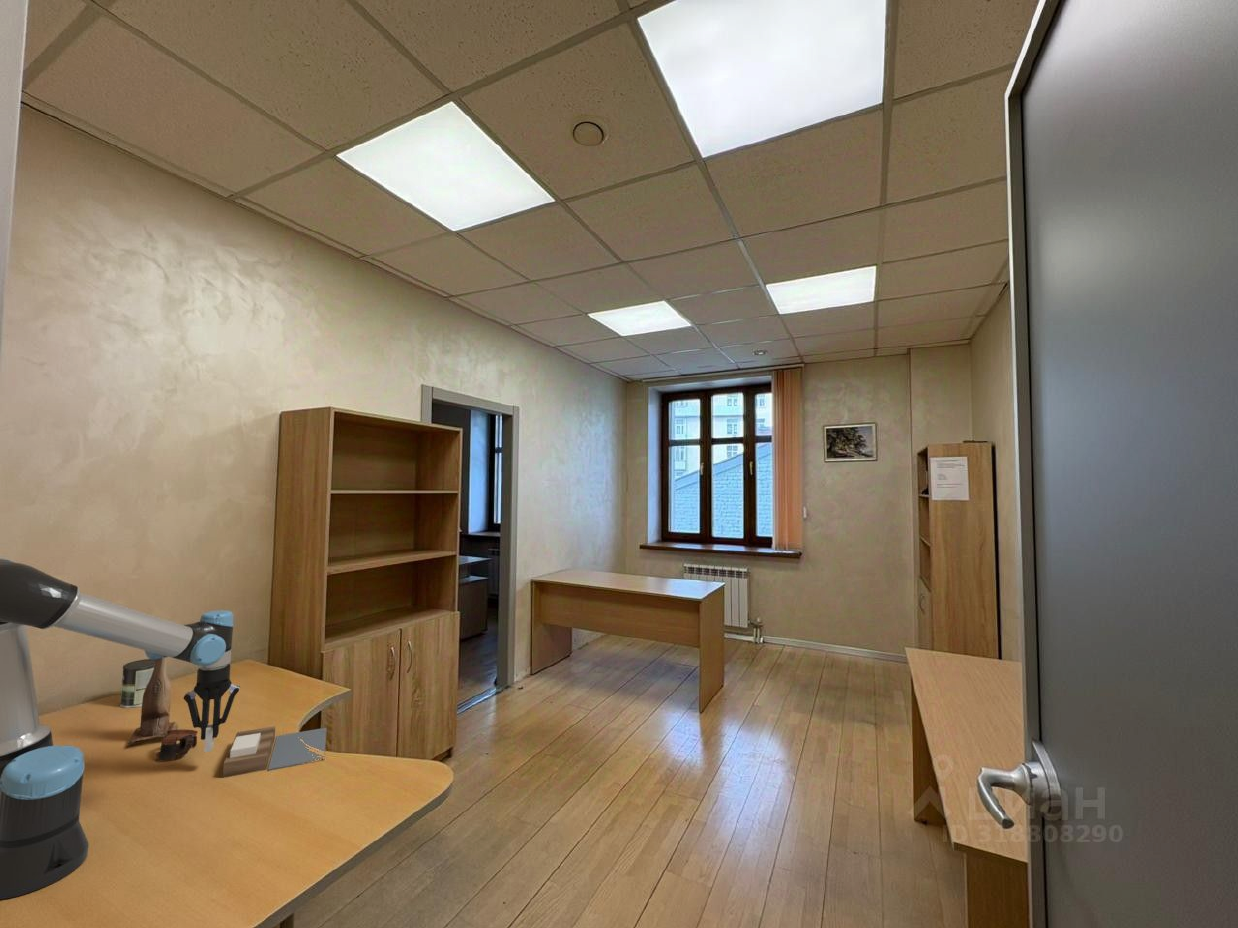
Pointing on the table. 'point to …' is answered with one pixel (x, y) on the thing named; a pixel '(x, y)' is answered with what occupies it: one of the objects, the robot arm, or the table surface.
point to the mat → (297, 748)
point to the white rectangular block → (245, 745)
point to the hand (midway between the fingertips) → (208, 749)
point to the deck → (253, 760)
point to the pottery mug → (171, 746)
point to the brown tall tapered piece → (155, 706)
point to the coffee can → (135, 682)
